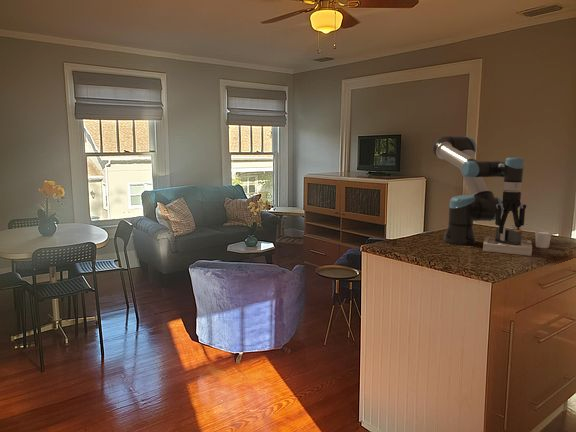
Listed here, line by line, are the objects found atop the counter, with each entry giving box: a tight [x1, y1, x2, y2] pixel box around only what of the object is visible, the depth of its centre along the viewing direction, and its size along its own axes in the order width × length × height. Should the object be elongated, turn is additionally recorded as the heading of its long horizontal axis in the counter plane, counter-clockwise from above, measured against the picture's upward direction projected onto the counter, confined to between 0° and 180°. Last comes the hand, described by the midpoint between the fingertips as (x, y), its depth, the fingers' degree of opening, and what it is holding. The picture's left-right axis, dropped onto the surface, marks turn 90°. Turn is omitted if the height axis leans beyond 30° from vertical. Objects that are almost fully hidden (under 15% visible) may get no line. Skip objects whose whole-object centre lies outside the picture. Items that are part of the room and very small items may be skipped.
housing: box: [482, 236, 533, 257], centre depth 212 cm, size 20×18×4 cm
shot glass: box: [534, 231, 552, 249], centre depth 217 cm, size 7×7×7 cm
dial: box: [494, 226, 523, 246], centre depth 211 cm, size 12×12×8 cm
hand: (508, 240), depth 211 cm, fingers closed on dial, 5 cm apart
